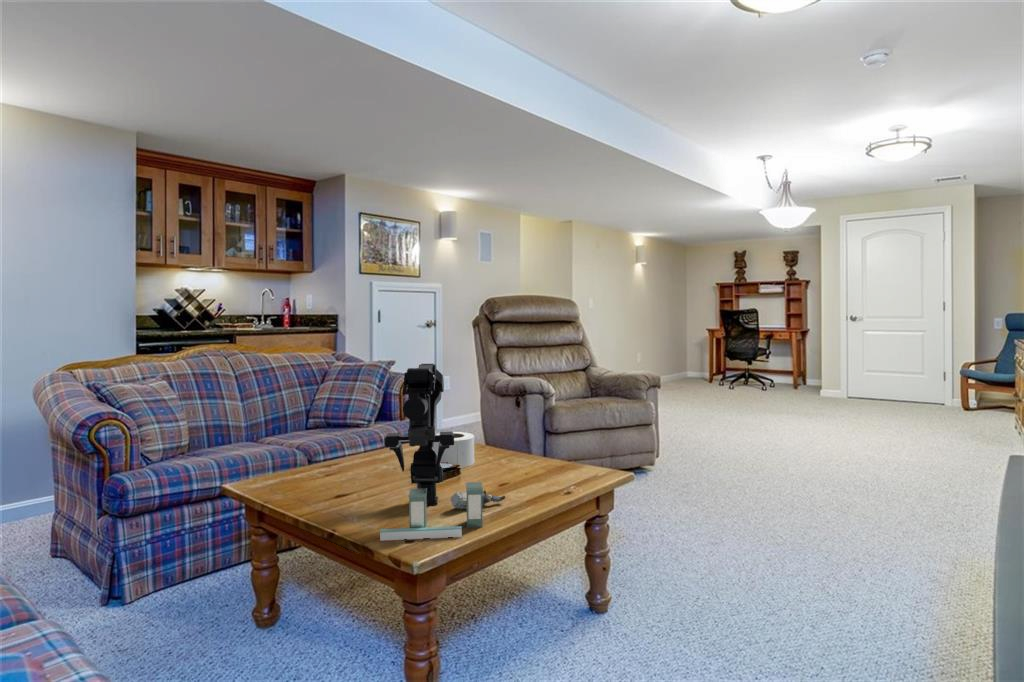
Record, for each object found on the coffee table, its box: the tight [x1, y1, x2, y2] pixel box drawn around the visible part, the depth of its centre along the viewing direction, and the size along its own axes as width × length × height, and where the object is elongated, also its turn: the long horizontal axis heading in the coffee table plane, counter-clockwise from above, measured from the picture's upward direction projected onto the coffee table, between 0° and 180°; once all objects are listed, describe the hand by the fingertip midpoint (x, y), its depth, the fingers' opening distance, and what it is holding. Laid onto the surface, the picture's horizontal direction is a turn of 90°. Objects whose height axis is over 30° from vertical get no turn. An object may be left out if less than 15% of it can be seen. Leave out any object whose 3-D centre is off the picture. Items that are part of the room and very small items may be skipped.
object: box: [434, 431, 475, 468], centre depth 218 cm, size 16×15×11 cm
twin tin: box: [465, 481, 484, 529], centre depth 154 cm, size 5×4×10 cm
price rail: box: [379, 525, 463, 542], centre depth 144 cm, size 1×20×2 cm, turn 96°
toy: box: [450, 490, 506, 510], centre depth 169 cm, size 7×11×15 cm
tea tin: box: [408, 487, 428, 528], centre depth 148 cm, size 5×4×10 cm
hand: (420, 470), depth 159 cm, fingers open, 9 cm apart
